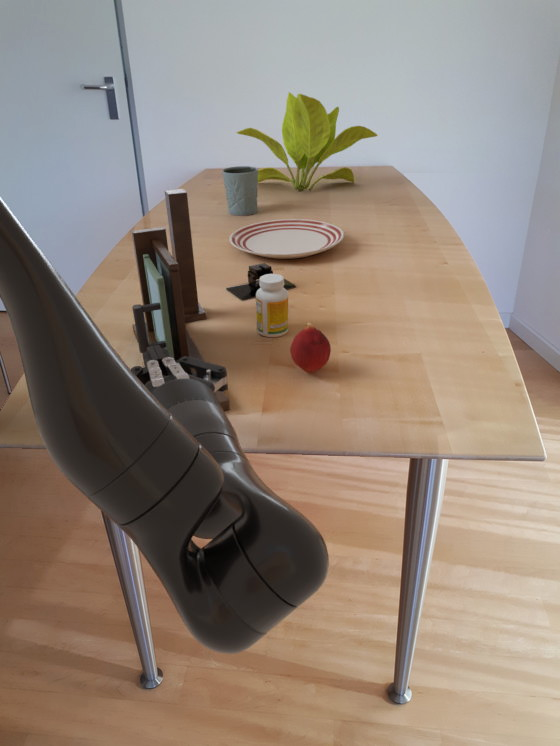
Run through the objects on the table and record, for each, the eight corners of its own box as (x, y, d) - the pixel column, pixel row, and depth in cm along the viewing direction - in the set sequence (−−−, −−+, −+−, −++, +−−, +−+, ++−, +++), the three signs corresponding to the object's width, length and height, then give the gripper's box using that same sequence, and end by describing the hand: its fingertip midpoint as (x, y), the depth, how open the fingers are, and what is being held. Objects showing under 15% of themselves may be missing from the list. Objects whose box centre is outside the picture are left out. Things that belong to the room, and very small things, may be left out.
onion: (331, 364, 83) (333, 316, 79) (326, 383, 78) (328, 334, 74) (294, 361, 84) (294, 313, 80) (287, 380, 79) (286, 330, 75)
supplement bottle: (251, 334, 92) (248, 280, 87) (266, 322, 96) (264, 270, 91) (279, 340, 90) (278, 286, 85) (293, 327, 94) (293, 274, 89)
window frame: (170, 423, 71) (151, 294, 61) (133, 332, 94) (115, 228, 85) (229, 409, 73) (219, 283, 64) (179, 323, 96) (166, 222, 87)
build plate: (241, 301, 105) (240, 278, 102) (225, 289, 110) (223, 267, 108) (296, 287, 110) (295, 265, 108) (277, 276, 115) (277, 255, 113)
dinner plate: (251, 273, 117) (250, 258, 115) (216, 238, 139) (215, 225, 137) (364, 256, 125) (365, 242, 124) (314, 225, 147) (314, 213, 146)
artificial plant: (380, 208, 186) (392, 124, 188) (321, 148, 150) (336, 45, 152) (278, 216, 209) (290, 141, 211) (205, 166, 173) (220, 76, 175)
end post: (179, 323, 96) (163, 196, 85) (173, 313, 100) (157, 189, 89) (206, 318, 98) (194, 192, 87) (199, 308, 102) (187, 186, 91)
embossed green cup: (265, 210, 163) (264, 167, 157) (247, 218, 155) (244, 174, 149) (237, 206, 167) (235, 165, 161) (218, 214, 160) (215, 171, 154)
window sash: (144, 375, 78) (129, 283, 71) (132, 342, 87) (117, 258, 80) (175, 368, 80) (163, 277, 73) (160, 337, 89) (148, 253, 81)
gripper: (257, 386, 50) (205, 313, 64) (110, 420, 46) (88, 334, 60) (260, 450, 54) (210, 368, 68) (124, 487, 50) (101, 392, 64)
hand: (153, 353), depth 64 cm, fingers closed
